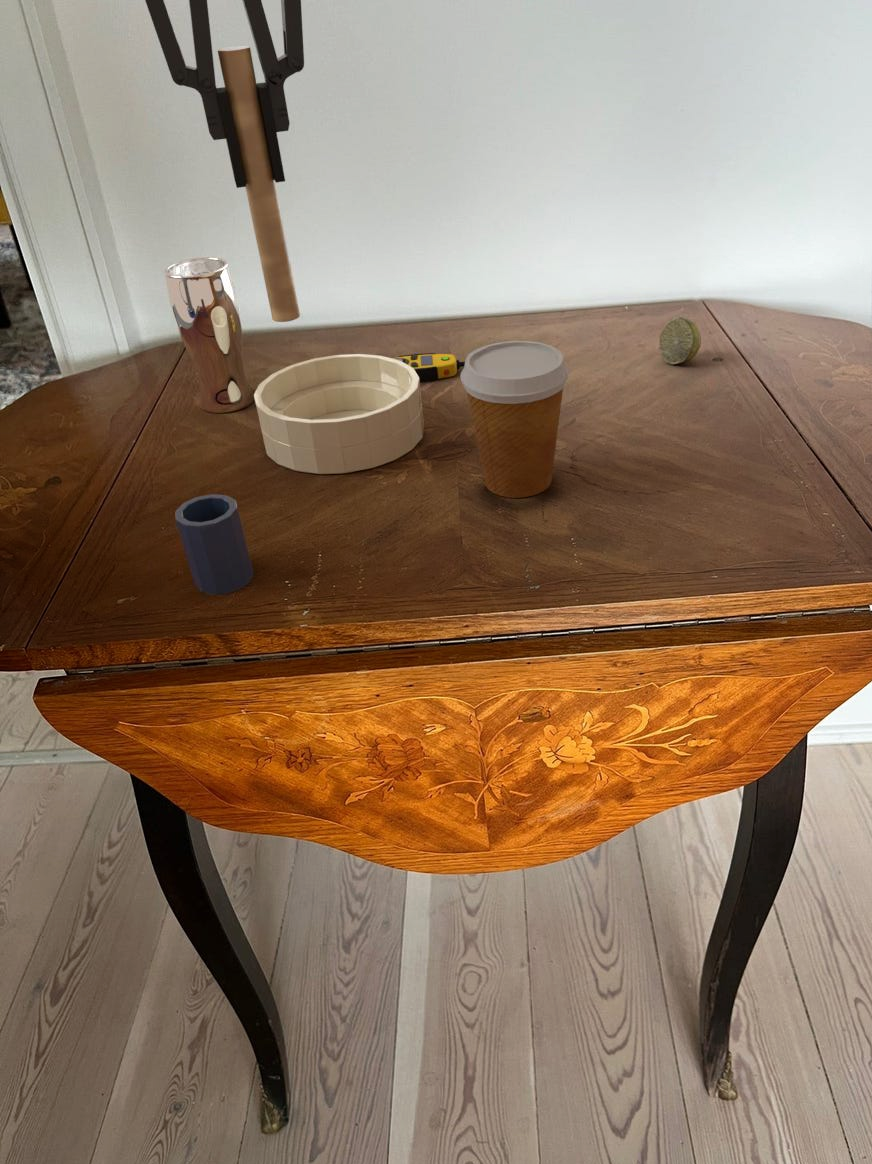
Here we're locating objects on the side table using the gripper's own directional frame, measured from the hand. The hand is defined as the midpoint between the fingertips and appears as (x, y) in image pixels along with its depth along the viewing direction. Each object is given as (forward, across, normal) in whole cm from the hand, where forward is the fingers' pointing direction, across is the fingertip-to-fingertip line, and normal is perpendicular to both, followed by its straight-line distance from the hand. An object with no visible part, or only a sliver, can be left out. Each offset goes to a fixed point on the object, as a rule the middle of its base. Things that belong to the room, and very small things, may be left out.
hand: (259, 180), depth 76 cm
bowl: (+27, -4, -7) cm, 28 cm away
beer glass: (+27, +7, -22) cm, 36 cm away
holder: (+27, +10, +15) cm, 32 cm away
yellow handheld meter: (+27, -18, -21) cm, 39 cm away
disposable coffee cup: (+27, -18, +7) cm, 34 cm away
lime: (+28, -44, -13) cm, 53 cm away
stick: (+11, 0, 0) cm, 11 cm away
